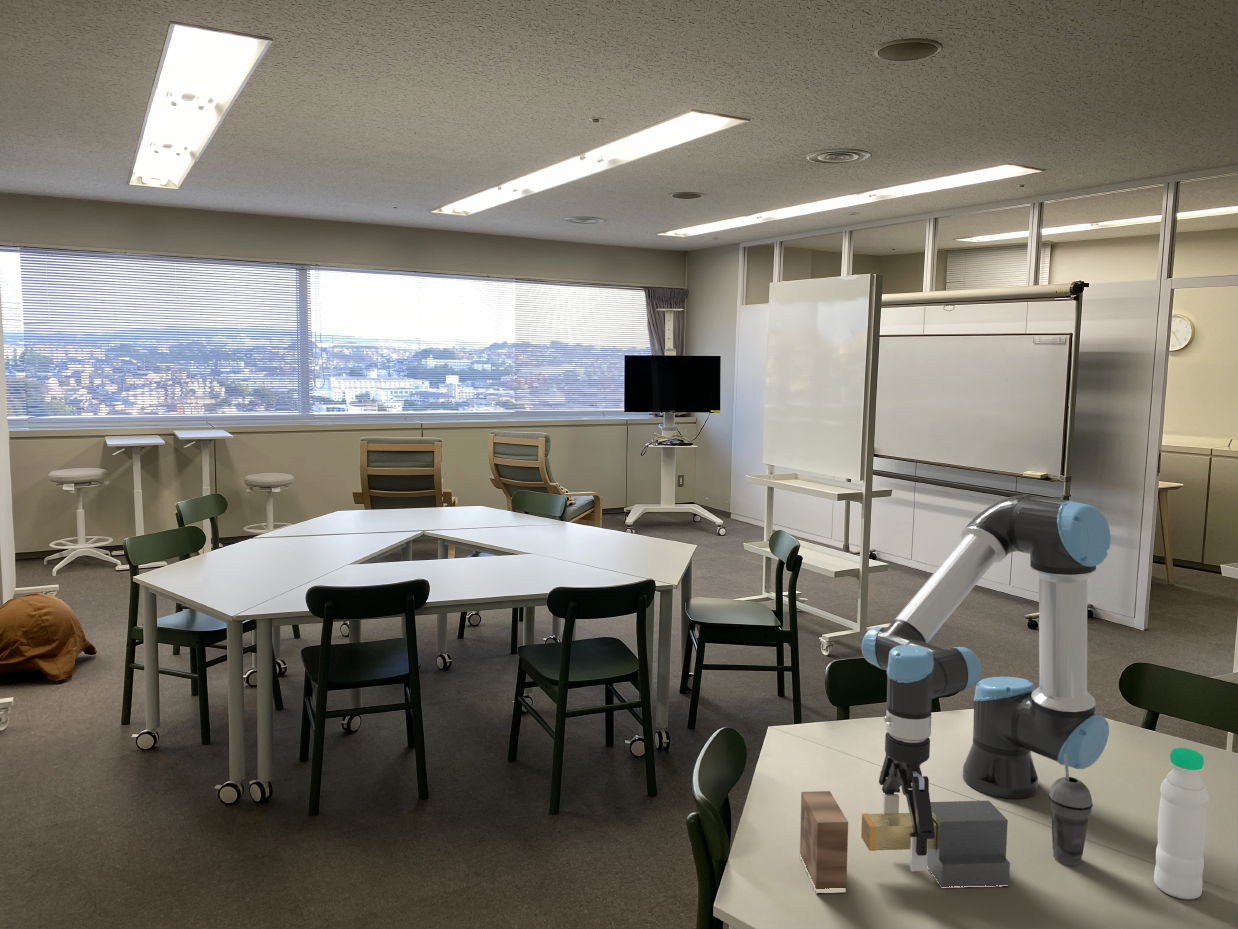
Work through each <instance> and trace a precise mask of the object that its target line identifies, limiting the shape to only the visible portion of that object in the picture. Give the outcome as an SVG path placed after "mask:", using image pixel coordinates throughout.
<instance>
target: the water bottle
mask: <svg viewBox="0 0 1238 929" xmlns="http://www.w3.org/2000/svg"><path fill="white" fill-rule="evenodd" d="M1169 757H1170V758H1169V759H1170V765H1171V766H1172V769H1171V770H1170V771H1169V772H1168V773H1167V776H1166V777H1165V778H1164V779H1163V781H1162V782H1161V784H1160V788H1159V792H1160V795H1161V796H1160V801H1159V807H1158V816H1157V845H1156V849H1155V866H1154V872H1153V881H1154V884H1155V885H1156V887H1157V888H1158V889H1159V890H1161V891H1162V892H1163V893H1165V894H1167V895H1168V896H1171V897H1173V898H1177V899H1180V900H1195V899H1198V898H1199V897H1201V895H1202V893H1203V872H1204V866H1205V860H1204V859H1205V858H1204V853H1205V847H1206V841H1207V839H1206V838H1207V829H1208V804H1209V802H1210V801H1209V800H1210V796H1209V792H1208V790H1207V788H1206V786H1205V784H1204V781H1203V778H1202V777H1201V776H1200V772H1202V770H1203V768H1204V764H1205V761H1204V756H1203V755H1202V753H1200V752H1198V751H1197V750H1193V749H1190V748H1187V747H1174V748H1172V749H1171V751H1170V756H1169Z"/></svg>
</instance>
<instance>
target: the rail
mask: <svg viewBox="0 0 1238 929" xmlns="http://www.w3.org/2000/svg"><path fill="white" fill-rule="evenodd" d="M932 818H933V817H932ZM933 825H934V833H935V838H934V839H928V849H937V836H938V824H937V823H936V821H935V820H934V819H933ZM860 830H861V834H860V837H861V840H862V841H863V842H864V844H865V846H866V848H867V849H868V851H869V852H875V851H895V850H896V851H897V850H898V851H899V850H900V851H901V850H910V848H911V837H910V833H914V832H913V827H912V822H911V817H910V813H909V812H899V813H885V814H883V813H861V829H860Z"/></svg>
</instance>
